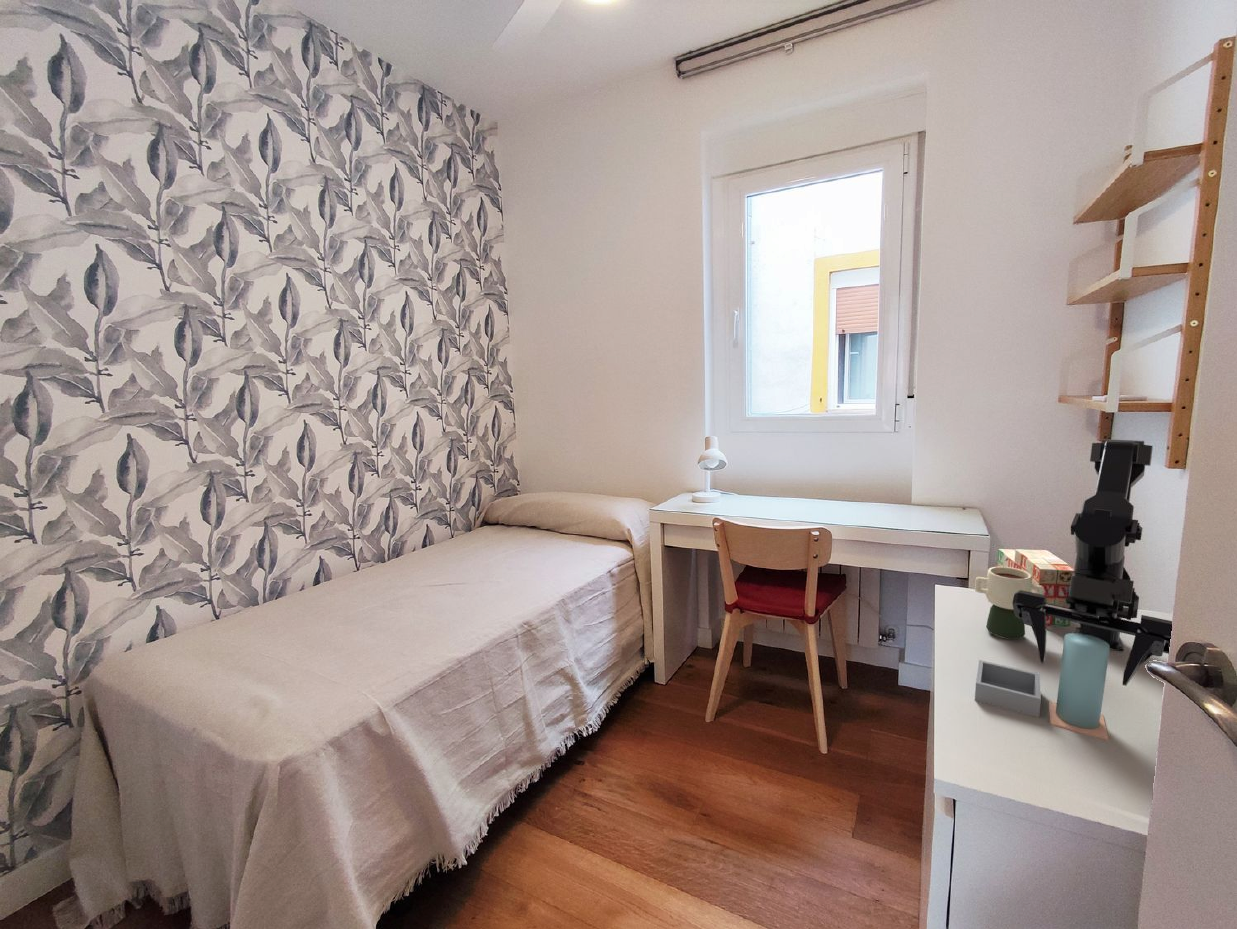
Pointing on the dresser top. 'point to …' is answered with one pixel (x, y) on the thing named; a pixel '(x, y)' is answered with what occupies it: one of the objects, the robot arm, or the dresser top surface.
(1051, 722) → the terracotta coaster
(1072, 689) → the teal post
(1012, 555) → the stack of blocks
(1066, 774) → the dresser top surface
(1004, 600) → the character mug
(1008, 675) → the slate tray
